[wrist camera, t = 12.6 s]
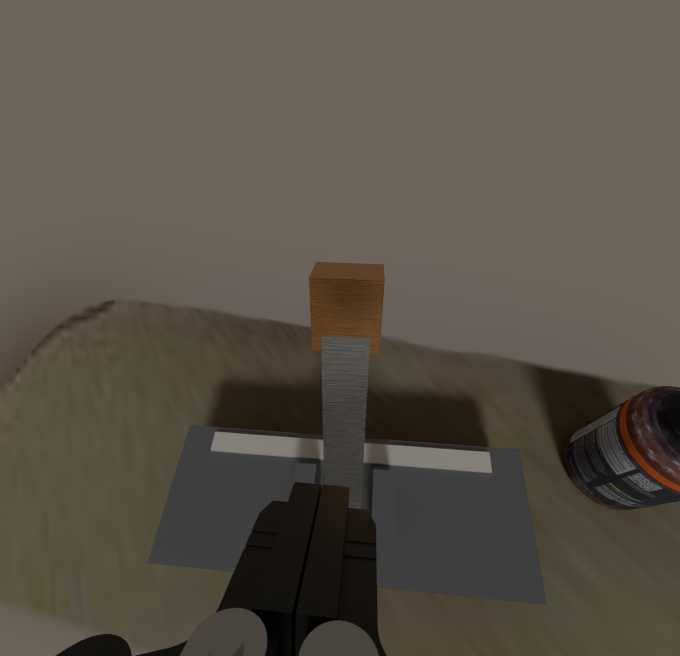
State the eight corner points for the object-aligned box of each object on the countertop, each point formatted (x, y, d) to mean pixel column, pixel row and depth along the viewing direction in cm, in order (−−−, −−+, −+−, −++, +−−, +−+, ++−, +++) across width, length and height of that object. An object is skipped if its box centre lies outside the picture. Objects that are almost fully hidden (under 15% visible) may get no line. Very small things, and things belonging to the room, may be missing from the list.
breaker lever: (367, 498, 22) (383, 264, 15) (366, 526, 20) (384, 280, 13) (322, 494, 22) (316, 262, 15) (317, 522, 21) (309, 277, 13)
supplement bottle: (638, 437, 28) (783, 376, 19) (654, 521, 25) (837, 500, 16) (556, 420, 29) (654, 354, 20) (562, 499, 26) (682, 467, 16)
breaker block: (493, 465, 27) (539, 436, 21) (511, 595, 23) (575, 612, 16) (214, 444, 29) (171, 410, 22) (183, 561, 25) (118, 563, 18)
